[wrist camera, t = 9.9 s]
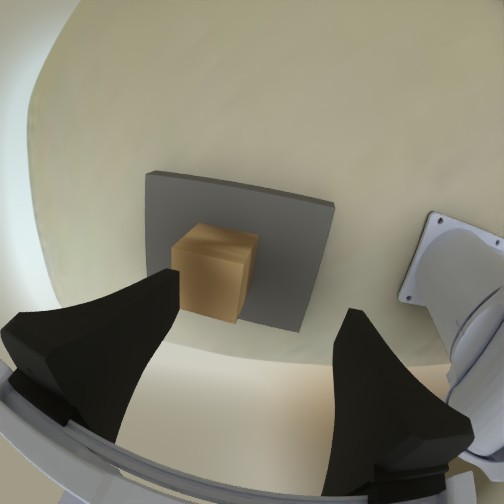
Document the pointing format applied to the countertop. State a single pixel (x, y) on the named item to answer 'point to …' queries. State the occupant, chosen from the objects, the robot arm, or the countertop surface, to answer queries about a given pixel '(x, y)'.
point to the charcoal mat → (251, 221)
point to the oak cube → (214, 270)
